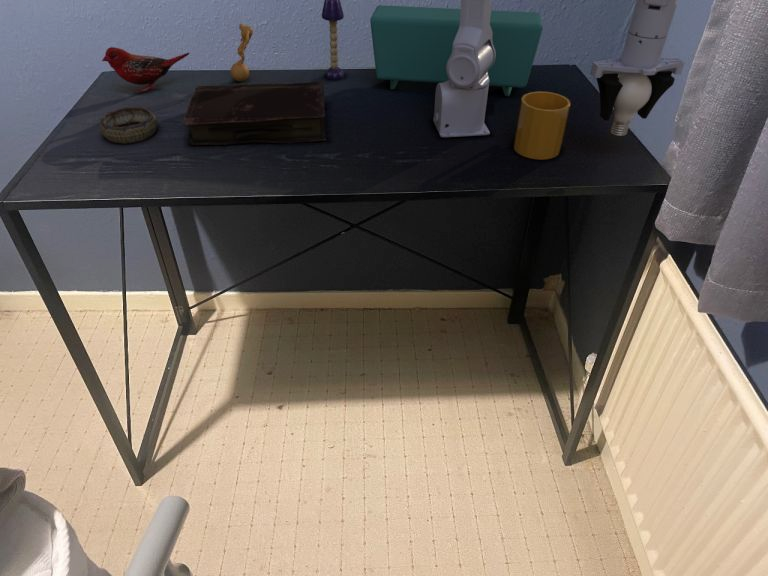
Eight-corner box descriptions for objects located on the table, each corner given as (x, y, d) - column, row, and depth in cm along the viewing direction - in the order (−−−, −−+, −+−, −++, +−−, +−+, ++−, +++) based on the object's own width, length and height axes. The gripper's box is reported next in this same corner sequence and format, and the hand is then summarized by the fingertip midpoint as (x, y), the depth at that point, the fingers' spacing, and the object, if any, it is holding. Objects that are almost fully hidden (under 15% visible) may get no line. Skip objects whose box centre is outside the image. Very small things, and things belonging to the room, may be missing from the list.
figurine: (232, 74, 131) (222, 18, 123) (258, 73, 132) (251, 17, 124) (232, 88, 125) (222, 30, 117) (260, 86, 125) (252, 29, 118)
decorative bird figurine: (111, 96, 121) (96, 47, 115) (193, 79, 128) (183, 32, 122) (115, 101, 119) (100, 51, 113) (197, 83, 127) (188, 36, 120)
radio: (527, 82, 128) (540, 10, 118) (530, 101, 121) (543, 25, 111) (377, 73, 132) (377, 2, 122) (370, 91, 124) (369, 17, 114)
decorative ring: (165, 121, 112) (113, 121, 112) (161, 105, 110) (108, 105, 110) (150, 145, 104) (95, 146, 104) (145, 128, 102) (89, 129, 102)
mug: (568, 156, 102) (579, 107, 96) (527, 162, 100) (536, 113, 95) (538, 129, 110) (547, 83, 104) (499, 135, 108) (506, 88, 102)
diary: (201, 107, 117) (196, 82, 114) (324, 102, 119) (322, 78, 116) (187, 149, 103) (181, 123, 100) (326, 144, 105) (325, 117, 102)
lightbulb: (639, 146, 96) (660, 81, 89) (600, 142, 97) (617, 77, 90) (634, 129, 101) (654, 66, 94) (597, 126, 102) (613, 63, 95)
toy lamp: (349, 75, 131) (347, -4, 120) (338, 82, 128) (334, 1, 117) (332, 71, 133) (328, -8, 122) (320, 77, 130) (315, -3, 119)
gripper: (613, 43, 84) (591, 129, 93) (706, 39, 86) (675, 125, 95) (594, 28, 89) (574, 111, 98) (681, 25, 91) (654, 107, 100)
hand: (622, 117), depth 97 cm, fingers closed on lightbulb, 6 cm apart
